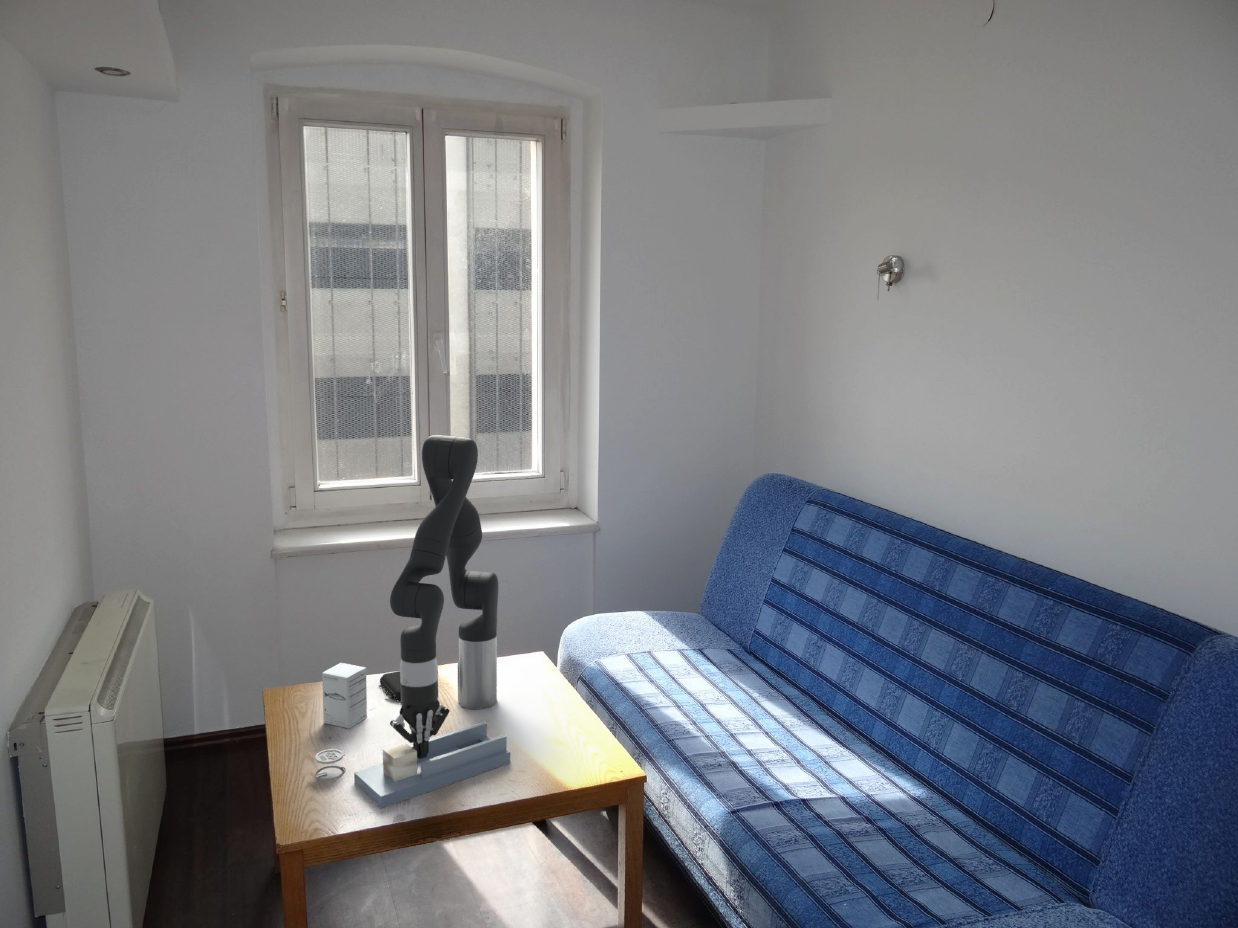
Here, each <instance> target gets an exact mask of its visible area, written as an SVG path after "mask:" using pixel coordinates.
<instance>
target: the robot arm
mask: <svg viewBox="0 0 1238 928" xmlns="http://www.w3.org/2000/svg"><path fill="white" fill-rule="evenodd" d="M421 448H422V449H421V461H422V463H421V464H422V467H423V471H424V474H425V475H424V476H425V478H426V481H427V483H428V487H429V490H430V492H431V493H430V494H431V495H432V499H433V503H434V508H433V509H432V510H431V511H430V512H429V513H428V514H427V515H426V516H425V518H424V519H423V520H422V521H421V523H420V525H419V526H418V528H417V529H416V532H415V535H414V538H413V539H414V540H413V544H412V547H411V550H410V551H411V552H410V555H409V559H408V560H407V563H406V564H405V566H404V568H403V570H402V572H401V573H400V575H399V576H398V578H397V580H396V582H395V584H394V586H393V588H392V590H391V593H390V598H389V607H390V608H391V611H392V613H393V614H394V615H396V616H399V617H404V618H411V619H412V618H413V619H420V620H421V624H419V625H418V624H417V625H413V626H409V627H406V628H404V629H403V630H402V631H401V633H400V664H399V665H400V666H399V671H400V688H401V701H400V702H401V706H400V709H399V715H398V716H397V718H396V719H395V720H394V719H392V720H390V722H389V725H390V727H392V728H393V729H394V730H395V731H396V732H397V733H398V734H399V735H400V736H402V738H403V739H404V740H406V741H407V742H408V743H410V744H413V749H414V750H416V751H417V758H419V759H422V758H425V757H427V754H428V752H429V739H431V738H432V737H433V736H436V735H438V732H439V731H440V729H441V727H442V726H443V724H444V722H445V720H446V719H447V718H448V715H449V714H450V709H449V708H448V707H446V706H444V705H443V704H440V703H441V702H440V701H439V671H438V670H439V665H438V659H437V632H438V628H439V623H440V619H441V616H442V613H443V609H444V605H445V595H444V592H443V591H442V589H441V587H439V586H438V585H437V584H433V583H423V582H421V581H422V579H423V578H425V577H428V576H433V575H438V574H440V573H441V572H442V570H443V569H444V566H445V563H446V562H445V561H447V566H448V573H449V575H448V576H449V582H450V583H449V584H450V591H451V592H450V594H451V597H452V598H451V599H452V602H453V603H454V605H455V607H456V608H457V609H463V610H473V611H475V610H477V611H481V614H480V615H478V616H475V617H473V618H469V619H466V620H464V621H463V622H461V623H460V625H459V626H458V662H457V699H458V702H459V705H460V706H461V707H463V708H465V709H469V710H483V709H487V708H491V707H492V706H494V705H496V704H497V702H498V699H497V698H498V697H497V696H498V695H497V693H498V690H497V688H498V687H497V686H498V684H497V683H498V681H497V680H498V677H497V676H498V675H497V673H498V671H497V670H498V669H497V667H498V665H497V664H498V662H497V661H498V657H497V656H498V655H497V654H498V652H497V651H498V649H497V648H498V646H497V643H498V641H497V640H498V638H497V637H498V636H497V635H498V633H497V630H498V628H497V627H498V602H499V601H498V600H499V579H498V576H497V574H496V573H494V572H491V571H480V570H479V571H477V570H476V571H475V570H467V569H466V566H467V564H468V562H469V560H470V559H472V557H473V556H474V554H475V553H476V551H477V550H478V548H479V547H480V545H481V543H482V540H483V529H482V525H481V524H482V523H481V519H480V514H479V512H478V510H477V508H476V507H475V506H474V504H473V503H472V501H470V499H468V498H467V494H468V492H469V488H470V486H471V483H472V481H473V479H474V476H475V473H476V470H477V465H478V458H479V450H478V446H477V444H476V442H475V440H474V439H472V438H470V437H465V436H464V437H463V436H454V435H453V436H452V435H441V434H434V435H430V436H428V437H427V438H425V440H424V442H423V443H422V447H421ZM405 722H406V723H407V724H408V726H409V727H408V728H409V729H410V733H409V732H408V730H406V729H405V725H406V724H405Z"/></svg>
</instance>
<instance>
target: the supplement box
mask: <svg viewBox="0 0 1238 928" xmlns="http://www.w3.org/2000/svg"><path fill="white" fill-rule="evenodd" d="M321 674H322V675H321V676H322V709H323V710H322V716H323V717H322V718H323V719H322V720H323V724H328V725H333V726H337V727H341V728H346V729H350V728H352V727H353V726H355V725H357V724H358V723H360V722H361V721H363V720H364V719H366V718H367V717H368V712H367V709H368V699H367V696H368V695H367V691H368V690H367V687H368V686H367V667H366V666H360V665H354V664H350V663H345V662H344V663H343V662H339V663H338V664H337V663H336V665H334V666H332V667H330V668H328V669H326V670H325V671H323V672H322V673H321Z"/></svg>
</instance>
